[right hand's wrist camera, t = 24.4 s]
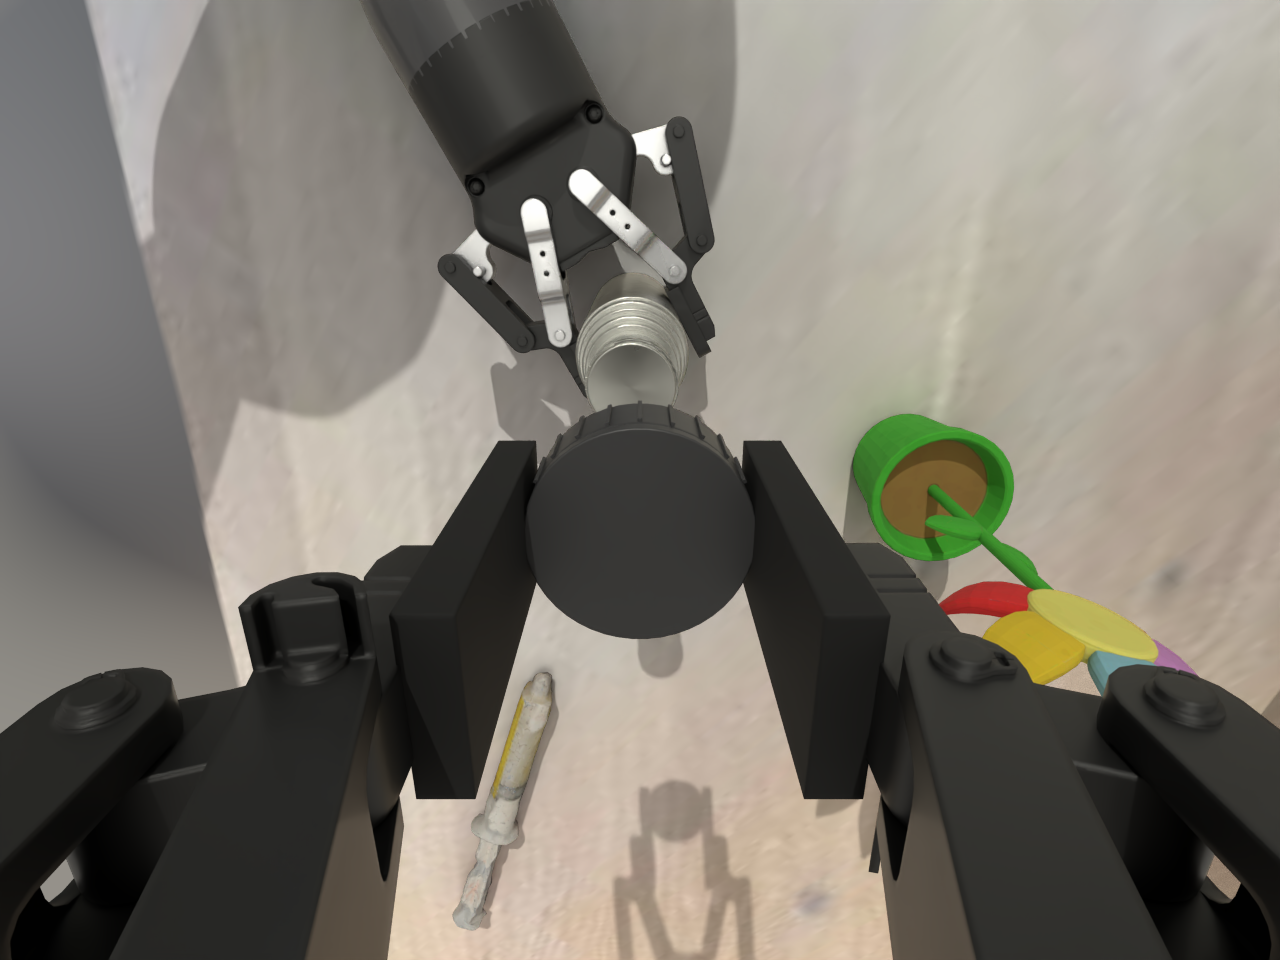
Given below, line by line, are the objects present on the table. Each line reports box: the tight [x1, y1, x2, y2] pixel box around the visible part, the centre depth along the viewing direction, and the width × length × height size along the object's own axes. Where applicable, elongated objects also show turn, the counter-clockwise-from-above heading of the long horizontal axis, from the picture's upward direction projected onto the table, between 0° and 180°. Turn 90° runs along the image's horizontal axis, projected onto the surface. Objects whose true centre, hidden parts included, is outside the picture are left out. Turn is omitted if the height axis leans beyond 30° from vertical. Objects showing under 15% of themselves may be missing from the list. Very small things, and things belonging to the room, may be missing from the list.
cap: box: [525, 401, 755, 639], centre depth 13 cm, size 4×4×2 cm
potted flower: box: [853, 414, 1200, 697], centre depth 32 cm, size 9×8×25 cm
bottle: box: [576, 273, 689, 413], centre depth 32 cm, size 5×5×19 cm
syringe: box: [453, 672, 552, 930], centre depth 53 cm, size 25×4×3 cm, turn 160°
